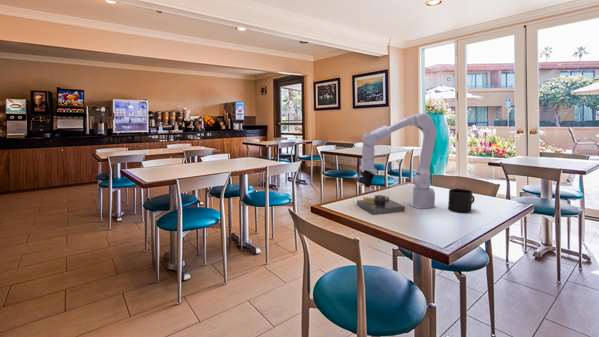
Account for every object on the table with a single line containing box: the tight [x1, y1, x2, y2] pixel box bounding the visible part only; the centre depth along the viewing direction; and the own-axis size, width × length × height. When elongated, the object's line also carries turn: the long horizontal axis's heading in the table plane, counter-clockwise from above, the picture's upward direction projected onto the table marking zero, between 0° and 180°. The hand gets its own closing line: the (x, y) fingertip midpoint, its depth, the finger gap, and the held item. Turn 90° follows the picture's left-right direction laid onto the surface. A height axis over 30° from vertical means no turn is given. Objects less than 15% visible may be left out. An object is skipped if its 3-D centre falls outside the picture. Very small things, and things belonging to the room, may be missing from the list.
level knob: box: [362, 194, 386, 204], centre depth 151 cm, size 10×5×3 cm, turn 75°
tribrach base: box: [356, 196, 406, 215], centre depth 151 cm, size 16×16×4 cm
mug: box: [448, 188, 475, 214], centre depth 146 cm, size 9×12×9 cm
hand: (367, 186), depth 155 cm, fingers closed
